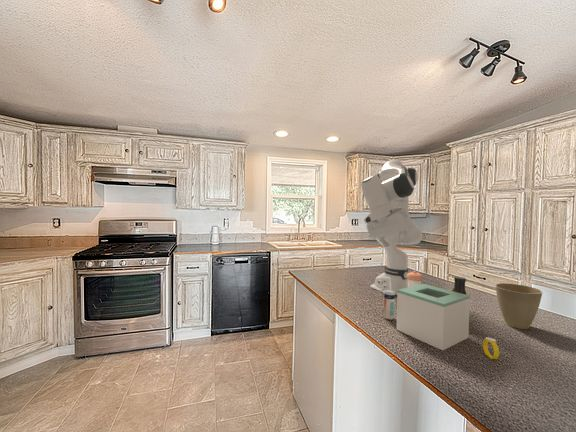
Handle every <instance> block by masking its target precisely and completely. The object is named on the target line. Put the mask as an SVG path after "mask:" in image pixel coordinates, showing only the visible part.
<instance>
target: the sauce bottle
mask: <svg viewBox="0 0 576 432" xmlns="http://www.w3.org/2000/svg"><path fill="white" fill-rule="evenodd" d="M453 280H454V286H453V289H452V290H451V291H454V292H457V293H461V294H465V295H468V294H467V292H466V281H467V279H466V278H465V277H462V276H454V277H453Z"/></svg>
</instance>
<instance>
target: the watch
mask: <svg viewBox="0 0 576 432" xmlns="http://www.w3.org/2000/svg"><path fill="white" fill-rule="evenodd" d="M489 343H490V344H491V346H492V349H493V355H492V354H491V352H490V351H489V346H488V344H489ZM482 349H483V352H484V354H485V355H486V356H487V357H488V358H489V359H490V360H497V359H499V356H500V351H499V347H498V345H497V339H495V338H494V337H493V338H492V337H489V336H487V337H485V338H484V339H483V341H482Z"/></svg>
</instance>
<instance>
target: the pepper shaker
mask: <svg viewBox="0 0 576 432" xmlns="http://www.w3.org/2000/svg"><path fill="white" fill-rule="evenodd" d="M407 279H408V287H412V286H416V285H420V284H422V281H423V280H424V276H423V275H422V273H419V272H417V271H416V270H413V271H412V272H408V274H407Z"/></svg>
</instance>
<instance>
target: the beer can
mask: <svg viewBox="0 0 576 432" xmlns="http://www.w3.org/2000/svg"><path fill="white" fill-rule="evenodd" d="M382 293H383V292H382ZM382 295H383V298H382V299H383V300H382V301H383V304H382V306H383V307H382V316H383V318H384V319H386V320H394V319H395V315H396V314H395V310H396V306H395V305H396V295H395V293H394V291H392V290H385V291H384V293H383V294H382Z"/></svg>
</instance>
